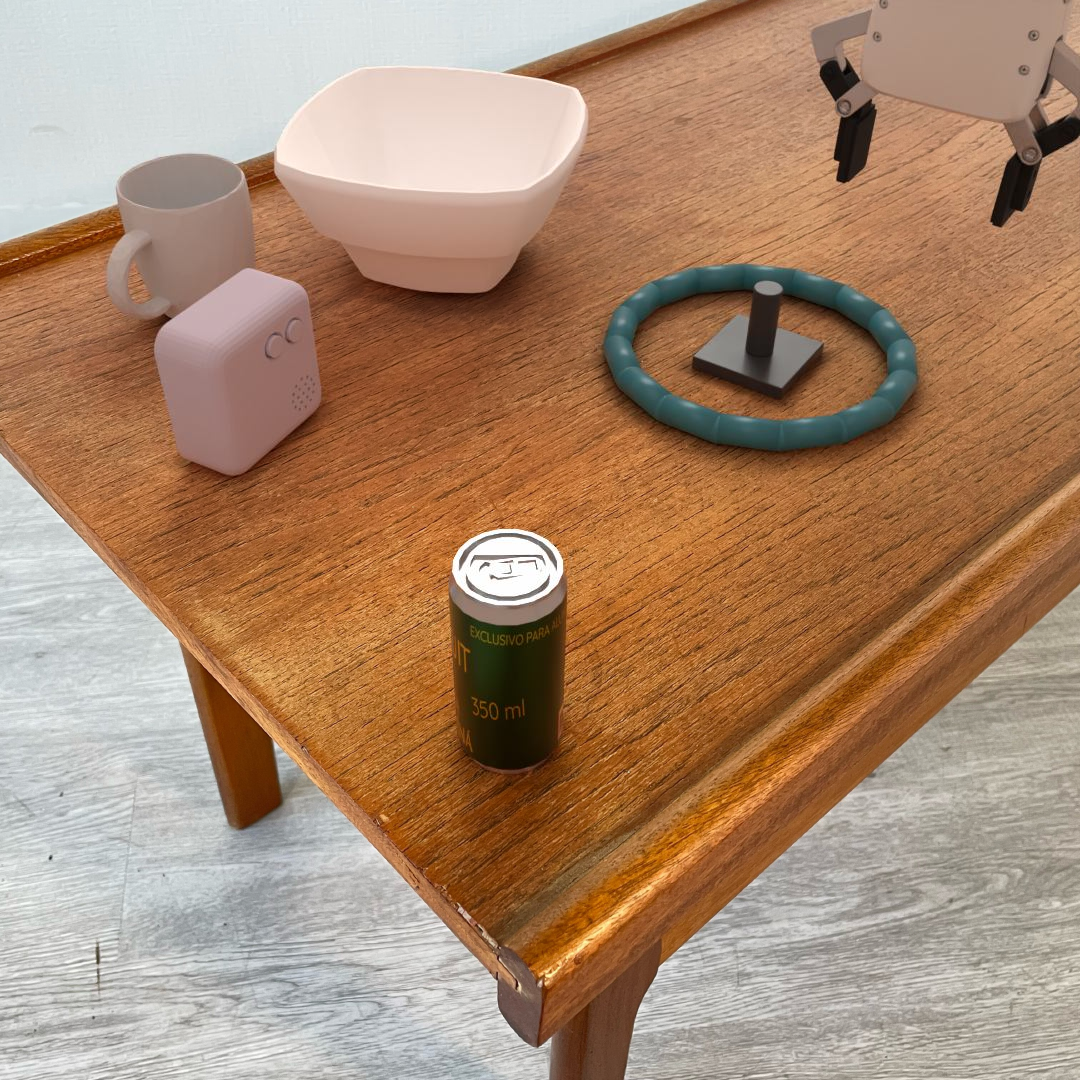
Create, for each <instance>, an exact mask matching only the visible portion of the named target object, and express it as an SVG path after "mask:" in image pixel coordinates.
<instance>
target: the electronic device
mask: <svg viewBox="0 0 1080 1080" xmlns="http://www.w3.org/2000/svg"><path fill="white" fill-rule="evenodd" d="M314 335H315V334H314V327H313V320H312V313H311V306H310V300H309V296H308V293H307V291H306V289H305V288H304V287H303V286H302V285H301V284H299V283H298V282H295V281H294V280H291V279H289V278H284V277H280V276H277V275H274V274H272V273H268V272H265V271H261V270H258V269H256V268H255V269H252V268H246V269H244V270H242V271H240V272H239V273H237V274H236V275H235V276H233V277H232V278H230V279H229V280H227V281H226V282H225V283H223V284H222V285H220V286H219V287H217V288H216V289H214V290H213V291H212V292H210V293H209V294H207V295H206V296H204V297H203V298H202V299H200V300H199V301H197V302H196V303H194V304H193V305H192V306H190V307H189V308H187V309H186V310H184V311H183V312H181V313H180V314H179V315H177V316H176V317H174V318H173V319H172V318H171V319H170V320H169V321H167V322H166V323H164V325H162V327H161V328H160V329H159V330H158V332H157V334H156V337H155V340H154V345H153V354H154V358H155V363H156V367H157V371H158V376H159V379H160V382H161V388H162V392H163V395H164V400H165V403H166V408H167V412H168V416H169V420H170V425H171V428H172V432H173V436H174V440H175V445H176V449H177V451H178V454H179V455H180V457H181V458H182V459H184V460H187V461H190V462H191V463H195V464H197V465H200V466H202V467H205V468H208V469H210V470H213V471H215V472H218V473H220V474H223V475H227V476H231V477H234V476H240V475H242V474H245V473H246V472H247V471H249V470H250V469H251V468H252V467H253V466H254V465H255V464H257V463H258V462H259V461H260V460H261V459H262V458H264V457H265V456H266V455H267V454H268V453H269V452H270V451H271V450H273V449H274V448H275V447H276V446H277V445H279V443H281V442H282V441H283V440H284V439H285V438H286V437H288V436H289V435H290V434H291V433H292V432H293V431H295V429H297V428H298V427H299V426H300V425H302V423H304V422H305V421H306V420H307V419H308V418H310V417H311V416H312V415H313V414H314V413H315V412H316V411H317V410H318V408H319V406H320V405H321V401H322V397H323V396H322V395H323V394H322V386H321V379H320V371H319V370H320V369H319V364H318V356H317V348H316V342H315V336H314Z"/></svg>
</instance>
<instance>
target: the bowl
mask: <svg viewBox="0 0 1080 1080" xmlns="http://www.w3.org/2000/svg"><path fill="white" fill-rule="evenodd" d="M588 133H589V108H588V106H587V104H586V102H585V100H584V98H583V96H582V94H581V92H580V90H579V89H578V88H576V87H573V86H570V85H566V84H562V83H559V82H555V81H552V80H548V79H544V78H538V77H532V76H531V77H530V76H525V75H519V74H512V73H506V72H499V71H498V72H497V71H489V70H482V69H474V68H461V67H459V68H457V67H446V66H445V67H444V66H424V65H423V66H421V65H387V66H386V65H384V66H383V65H382V66H365V67H364V66H363V67H359V68H356V69H354V70H352V71H350V72H348V73H346V74H344V75H342V76H339V77H338V78H335V79H334V80H333V81H331V82H330V83H328V84H327V85H325V86H324V87H323V88H320V89H319V90H318V91H317V92H316V93H315V94H313V96H312V97H310V98H309V99H308V100H307V101H306V102H305V103H303V104H302V105H301V106H300V107H299V108H298V109H297V110H296V111H295V113H294V115H293V116H292V117H291V119H290V120H289V121H288V123H287V124H286V125H285V127H284V128H283V130H282V132H281V135H280V136H279V139H278V141H277V143H276V145H275V147H274V150H273V156H274V157H273V167H274V168H273V169H274V170H273V172H274V174H275V177H277V179H278V180H279V182H280V183H281V185H282V186H283V187H284V189H285V190H286V191H287V193H288V194H289V195H290V197H291V198H292V199H293V201H294V202H295V204H296V205H297V207H298V208H299V209H300V210H301V211H302V213H303V214H304V216H305V217H306V219H307V220H308V221H309V222H310V224H311V225H312V226H313V228H314V229H315V230H316V232H317V234H320V235H321V236H323V237H326V238H329V239H332V240H334V241H336V242H339V243H340V244H341V245H342V247H343V248H344V251H345V252H346V253H347V255H348V256H349V257H350V259H351V260H352V262H353V263H354V264H355V266H356V268H357V269H358V271H359V272H360V273H361V275H362V276H363V277H365V278H367V279H368V280H372V281H374V282H378V283H383V284H387V285H389V286H395V287H399V288H403V289H407V290H408V289H409V290H413V291H418V292H430V293H431V292H432V293H447V294H450V293H453V294H454V293H455V294H456V293H457V294H460V293H461V294H478V293H486V292H489V291H490V290H491V289H494V288H495V287H497V286H498V284H499V283H500V282H501V281H502V279H504V278H505V276H506V275H507V274H508V273H510V271H511V269H512V268H513V266H514V265H515V263H516V261H517V259H518V258H519V255H520V252H521V251H522V248H523V247H525V246H527V244H529V242H531V240H533V238H534V237H535V236H536V235H537V234H538V233H539V232H540V231H541V229H542V228H543V227H544V226H545V224H546V222H547V220H548V219H549V218H550V216H551V215H552V213H553V211H554V209H555V207H556V205H557V204H558V201H559V199H560V197H561V195H562V193H563V191H564V189H565V187H566V185H567V183H568V181H569V179H570V177H571V175H572V173H573V171H574V169H575V167H576V165H577V163H578V161H579V159H580V157H581V155H582V153H583V150H584V147H585V143H586V140H587V136H588Z"/></svg>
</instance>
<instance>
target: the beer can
mask: <svg viewBox="0 0 1080 1080" xmlns="http://www.w3.org/2000/svg"><path fill="white" fill-rule="evenodd" d="M559 552H560V551H559V550H558V549H557V548H556V547H555V546H554V545H553V544H552V543H551V542H550V541H549V540H548V539H547V538H544V537H543V536H541V535H538V534H536V533H534V532H531V531H526V530H521V529H517V528H515V529H514V528H513V529H511V528H510V529H509V528H508V529H507V528H506V529H505V528H503V529H502V528H500V529H495V530H490V531H486V532H483V533H480V534H478V535H476V536H474V537H472V538H470V539H469V540H467V541H466V542H465V543H464V544H463V545H462V546H461V547H460V548H458V551H457V552H456V555H455V556H454V558H453V561H452V569H451V571H450V573H449V576H448V586H447V587H448V590H447V591H448V606H449V619H450V620H449V622H450V623H449V624H450V625H449V626H450V638H451V639H450V640H451V641H450V642H451V657H452V672H453V674H452V676H453V690H454V708H455V709H454V710H455V725H456V735H457V738H458V741H459V744H460V746H461V748H462V749H463V750H464V751H465V752H466V754H467V755H468V757H470V758H471V759H472V760H473V762H474V763H475V764H476V765H479V766H480V767H482V768H483V769H485V770H487V771H489V772H493V773H497V774H500V775H518V774H522V773H527V772H529V771H532V770H534V769H536V768H537V767H539V766H541V765H543V764H544V763H545V762H546V760H547V759H548V758H549V757H550V756H551V755H552V754H553V753H554V752H555V751H556V749H557V748H558V747H559V744H560V741H561V739H562V736H563V730H564V703H565V701H564V699H565V674H566V673H565V671H566V669H565V668H566V646H567V645H566V642H567V640H566V639H567V615H568V614H567V611H568V575H567V573H566V571H565V569H564V564H563V558H562V556H561V554H560V553H559Z"/></svg>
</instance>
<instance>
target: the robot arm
mask: <svg viewBox="0 0 1080 1080" xmlns="http://www.w3.org/2000/svg"><path fill="white" fill-rule="evenodd" d="M1074 5H1075V0H874V3H873V5H871V6H867V7H864V8H861V9H857V10H854V11H852V12H849V13H845V14H843V15H842V14H841V15H839V16H836V17H833V18H830V19H826V20H824V21H822V22H820V23H819V24H818V25H816V26H815V27H814V28H812V30H811V31H810V41H811V43H812V46H813V50H814V54H815V58H816V61H817V63H818V64H819V73H818V74H819V77H820V79H821V81H822V83H823V84H824V86H825V88H826V89H827V91H828V92H829V94H830V96H831V98H832V99H833V101H834V111H835V113H836V114H837V116H839V117H840V119H839V125H838V129H837V135H836V140H835V141H836V142H835V146H834V152H833V161H835V162H838V166H837V171H836V177H835V181H836V182H838V183H841V184H844V185H845V184H846V183H850V181H852V180H853V179H854V178H855V177H856V176H857V175H858V174H859V173H861V171H863V170H864V169H865V167H866V165H867V162H868V159H869V158H868V157H869V153H870V148H871V143H872V137H873V133H874V128H875V122H876V118H877V113H878V109H877V108H876V107H877V103H873V98H874V97H875V96H877V95H878V94H880V95H883V96H886V97H889V98H893V99H895V100H900V101H905V102H908V103H912V104H915V105H920V106H924V107H928V108H932V109H936V110H940V111H943V112H949V113H952V114H957V115H960V116H964V117H969V118H972V119H977V120H982V121H985V122H991V123H997V124H1002V125H1003V126H1004V129H1005V131H1006V133H1007V135H1008V137H1009V139H1010V141H1011V143H1012V145H1013V148H1014V150H1015V152H1014V153H1013V155H1012V156H1011V157H1010V158H1009V160H1008V161H1007V162H1006V164H1005V166H1004V169H1003V173H1002V177H1001V180H1000V184H999V187H998V190H997V195H996V199H995V201H994V205H993V208H992V212H991V216H990V220H989V223H992V224H991V225H992V226H994V227H996V228H1001V229H1002V228H1003V227H1004V225H1005V224H1006V223H1007V222H1008V220H1009V219H1010V218H1011V217H1012V215H1014V213H1015V212H1016V211H1017V212H1021V213H1022V212H1024V211H1025V209H1026V208H1027V206H1028V204H1029V202H1030V201H1031V200H1030V199H1031V197H1032V193H1033V191H1034V187H1035V184H1036V181H1037V178H1038V173H1039V171H1040V167H1041V164H1042V161H1043V159H1044V158H1045V157H1048V156H1050V155H1051V154H1053V153H1055V152H1057V151H1058V150H1061V149H1062V148H1064V147H1066V146H1068V145H1070V144H1072V143H1074V142H1075V141H1077V140H1078V138H1080V54H1079V53H1077V51H1075V50H1074V49H1073V48H1072V47H1070V46H1069V45H1068V44H1067V43H1066V41H1067V35H1068V31H1069V30H1068V29H1069V26H1070V22H1071V19H1072V14H1073V8H1074ZM864 35H865V38H864V42H863V48H862V53H861V60H860V77H859V76H858V74H857V72H856V71H855V69H854V67H853V66H852V64H851V62H850V61H849V59H848V58H847V57H846V56H845V53H844V52H845V48H844V42H845V41H848V40H851V39H855V38H858V37H861V36H864ZM860 78H861V79H860ZM1055 81H1057V82H1058V83H1059V84H1060V85H1061V86H1063V87H1064V88H1065V89H1066V90H1067V91H1068V92H1070V93H1071V94H1072V95H1073V96H1074V97H1075V98H1076V101H1077V104H1076V106H1075V107H1074V109H1073V110H1072V111H1070V113H1068V114H1066V115H1063V116H1062V117H1061V118H1058V119H1057V120H1055V121H1054V122H1052V123H1051V122H1050V119H1049V117H1048V115H1047V113H1046V110H1045V108H1044V106H1043V104H1042V102H1041V100H1042V99H1046V98H1047V97H1048V96H1049V94H1050V92H1051V90H1052V88H1053V86H1054V84H1055Z"/></svg>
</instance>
